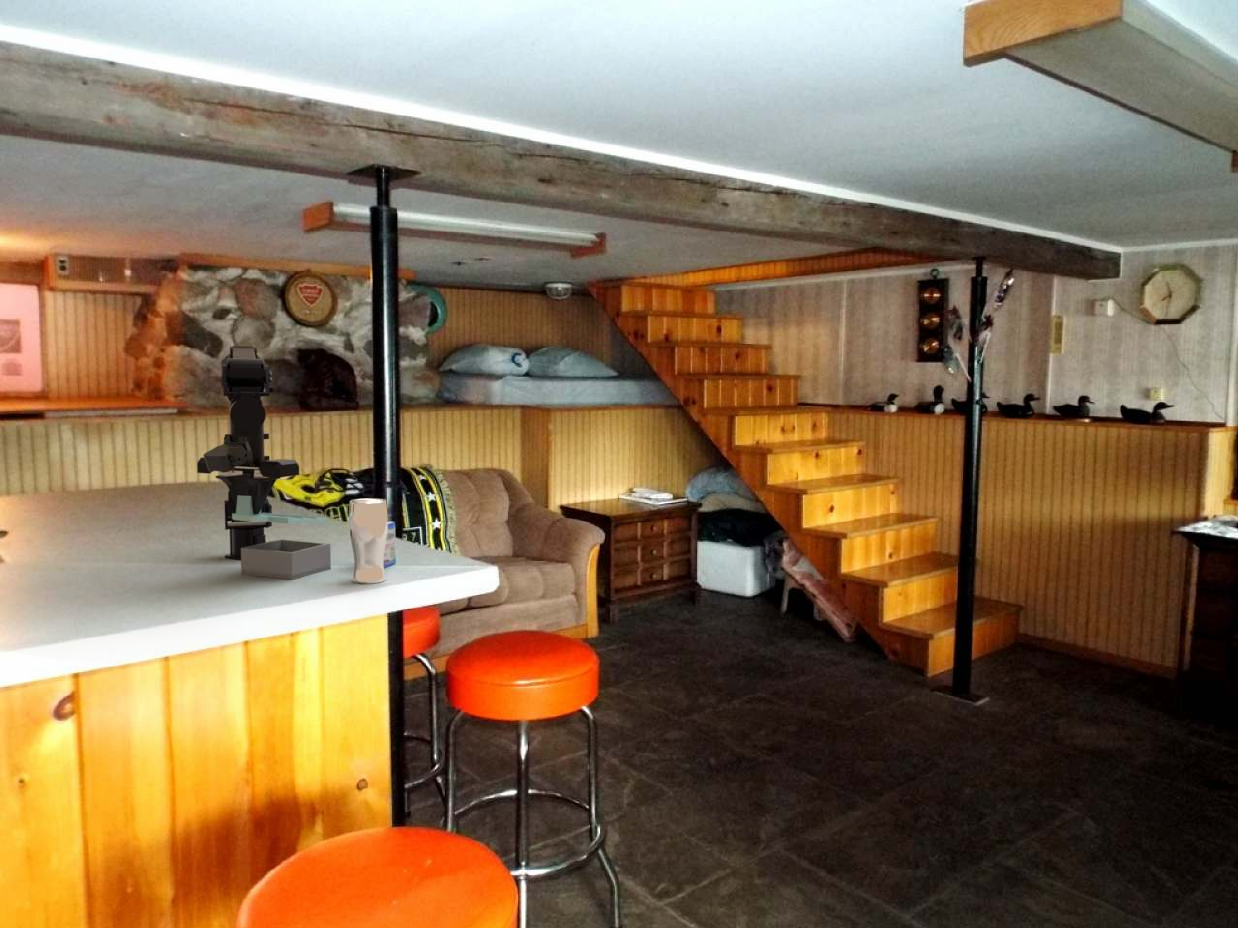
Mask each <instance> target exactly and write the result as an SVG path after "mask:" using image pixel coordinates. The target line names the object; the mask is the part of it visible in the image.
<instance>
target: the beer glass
mask: <svg viewBox="0 0 1238 928" xmlns="http://www.w3.org/2000/svg"><path fill="white" fill-rule="evenodd" d="M348 512H349V513H348V532H349V539H350V543H351V549H352V553H353V571H352V578H351V581H352V582H353V583H355V584H360V585H363V584H364V585H368V584H369V585H370V584H371V585H372V584H378V583H383V582H385V581H386V579H387V576H386V572H385V568H384V562H383V560H384V550H385V545H386V538H387V530H388V522H389V521H388V520H389V517H388V506H387V499H385V498H370V497H369V498H357V499H356V498H355V499H351V500H350V501H349V511H348Z"/></svg>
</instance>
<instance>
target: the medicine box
mask: <svg viewBox="0 0 1238 928" xmlns="http://www.w3.org/2000/svg"><path fill="white" fill-rule="evenodd" d="M396 548H397V546H396V523H395V521H388V530H387V538H386V545H385V550H384V560H383V562H384V569H386V568H388V567H391V566H392V565H395V564H396V561H397V559H396V556H397V555H396V551H397V549H396ZM387 566H388V567H387ZM385 567H386V568H385Z"/></svg>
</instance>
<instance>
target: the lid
mask: <svg viewBox="0 0 1238 928" xmlns="http://www.w3.org/2000/svg"><path fill="white" fill-rule="evenodd" d="M232 519H233V520H239V521H253V522H272V523H279V524H280V523H281V524H293V525H294V524H299V525H300V524H302V525H303V524H305V525H310V524H311V525H331V518H322V517H321V518H320V517H318V516H309V515H296V514H281V513H273V512H272V513H261V511H260V513H259V514H256V515H255V514H253V508H252V496H239V495H238V496H237V508H236V514H234V513H232Z"/></svg>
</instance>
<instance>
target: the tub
mask: <svg viewBox="0 0 1238 928" xmlns="http://www.w3.org/2000/svg"><path fill="white" fill-rule="evenodd" d="M331 560H332V559H331V543H329V542H317V541H304V540H298V539H297V540H295V539H285V538H280V539H274V540H271V541H266V543H261V544H257V545H252V546H248V547H244V548H241V559H240V564H241V565H240V566H241V568H240V569H241V575H247V576H256V577H266V578H273V579H283V580H291V581H292V580H296V579H300V578H304V577H307V576H309V575H310V576H311V575H314V574H317V573H320V572H324V571H326V570H331V569H332V566H331V565H332V564H331V563H332V562H331Z"/></svg>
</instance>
